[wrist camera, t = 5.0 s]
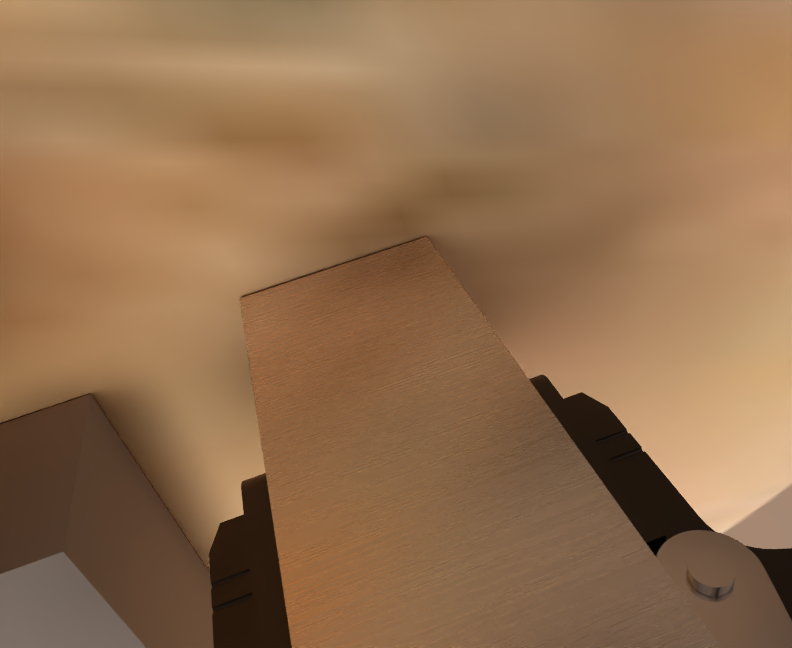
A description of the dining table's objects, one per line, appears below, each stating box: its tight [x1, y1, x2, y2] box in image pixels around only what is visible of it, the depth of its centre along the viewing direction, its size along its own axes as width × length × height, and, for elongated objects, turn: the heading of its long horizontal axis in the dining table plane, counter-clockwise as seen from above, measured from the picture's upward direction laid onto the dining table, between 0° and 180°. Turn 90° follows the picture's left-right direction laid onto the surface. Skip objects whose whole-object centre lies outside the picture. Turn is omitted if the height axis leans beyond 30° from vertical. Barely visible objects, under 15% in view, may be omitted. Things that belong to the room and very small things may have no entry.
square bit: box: [240, 237, 721, 648], centre depth 10 cm, size 4×4×12 cm
